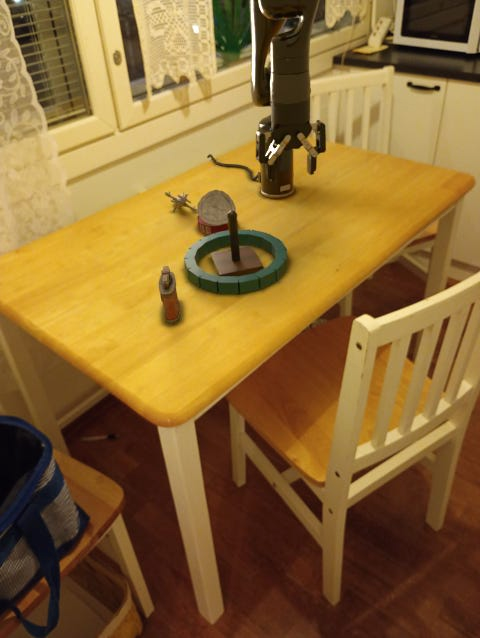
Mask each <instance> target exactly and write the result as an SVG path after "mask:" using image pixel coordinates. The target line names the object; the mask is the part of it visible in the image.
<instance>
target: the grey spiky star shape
mask: <svg viewBox="0 0 480 638" xmlns="http://www.w3.org/2000/svg"><path fill="white" fill-rule="evenodd" d="M188 195H189V193H186V191H185V190H184V191H183V192H182V194H181V195H180V194H177V196H173V195H172V194H171V191H170V190H169V191H168V192H167V191H165V193H164V196H167V197H168V198H170V202H171V203H172V204H173V205H174V208H173V209H172V212H173V213H174V212H175V211H176V210H177V209H181V208H183V207H184V208H188V209H190V210H191V211H192V212H194V213H196V212H197V208H196V206H191V205H190V204H192V202H191V200H189V199H188Z"/></svg>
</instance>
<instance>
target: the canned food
mask: <svg viewBox="0 0 480 638" xmlns="http://www.w3.org/2000/svg"><path fill="white" fill-rule="evenodd" d="M196 209H197V211H196V212H197V216H196V220H197V229H198V232H200V233H201V234H202V235H205V236H209V235H211V234H213V233H214V234H216V233H217V232H222V231H227V230H229V226H228V218H227V214H228V212H229V211H235V212H236V209H237V207H236V204H235V203H234V200H233V199H232V198H231V196H230V195H229V194H228V193H226V192H225V191H224V190H219V189H213V190H209V191H208V192H206V193H205V194H204V195H203V196H201V197H200V199H199V201H198V203H197V207H196Z"/></svg>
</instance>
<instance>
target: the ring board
mask: <svg viewBox="0 0 480 638" xmlns="http://www.w3.org/2000/svg"><path fill="white" fill-rule="evenodd" d="M227 218H228V226H229V237H230V246H229V247H230V248H228V249H224V250H218V251H214V252H213V251H212V252H209V256H210V260H211V263H212V264H213V265H212V266H213V267H214V269H215V272H216V275H218V276H235V277H238V276H243V275H248V274H253V273H256V272H258V271H260V270H262V269H264V265H263V263H262V262H261V259H260V258H259V256H258V254H257V253H256V252H255V250H254V248H253V246H251V245H243V246H240V245H239V237H238V230H239V226H238V213H237V212H236V210H235V211H229V212H228V214H227Z"/></svg>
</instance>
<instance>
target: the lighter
mask: <svg viewBox="0 0 480 638" xmlns="http://www.w3.org/2000/svg"><path fill="white" fill-rule="evenodd" d="M158 279H159V280H158V291H159V294H160V299H161V302H162V306H163V315H164V320H165V323H166V324H167V325H176V324H178V323H179V321H180V319H181V314H182V309H181V303H180V300H179V297H178V290H177V280H176V276H175V273H174V272H173V271H171V270H170V266H169V265H163V266H162V270H160V277H159V278H158Z"/></svg>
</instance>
